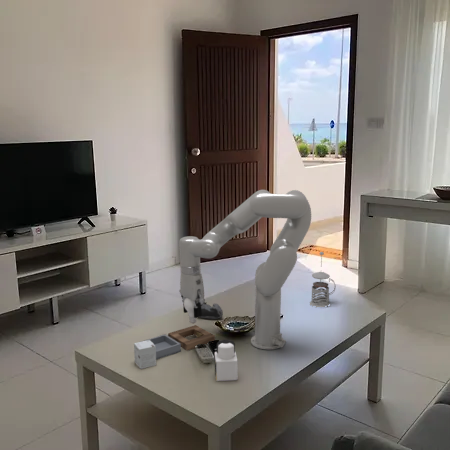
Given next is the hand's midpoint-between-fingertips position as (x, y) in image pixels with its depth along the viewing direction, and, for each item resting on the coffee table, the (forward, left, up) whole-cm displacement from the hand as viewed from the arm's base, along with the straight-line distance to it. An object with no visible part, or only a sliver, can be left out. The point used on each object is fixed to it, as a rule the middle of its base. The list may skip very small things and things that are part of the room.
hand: (192, 314), depth 192 cm
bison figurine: (+16, -20, -11) cm, 28 cm away
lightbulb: (0, 0, -4) cm, 4 cm away
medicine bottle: (-30, +7, -11) cm, 32 cm away
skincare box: (-5, +24, -11) cm, 27 cm away
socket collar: (0, 0, -11) cm, 11 cm away
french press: (-5, -69, -11) cm, 70 cm away
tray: (0, +14, -11) cm, 18 cm away
